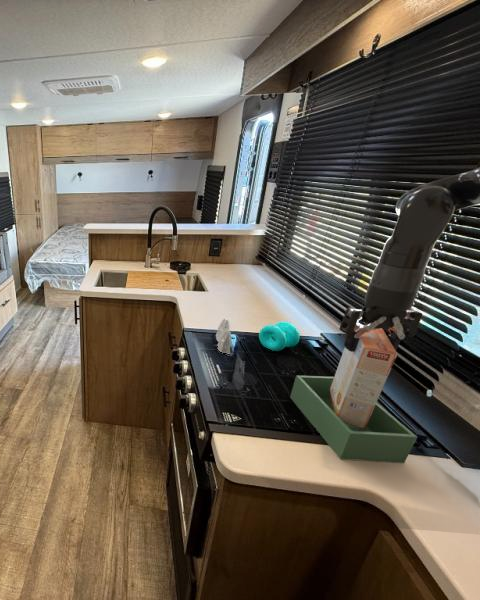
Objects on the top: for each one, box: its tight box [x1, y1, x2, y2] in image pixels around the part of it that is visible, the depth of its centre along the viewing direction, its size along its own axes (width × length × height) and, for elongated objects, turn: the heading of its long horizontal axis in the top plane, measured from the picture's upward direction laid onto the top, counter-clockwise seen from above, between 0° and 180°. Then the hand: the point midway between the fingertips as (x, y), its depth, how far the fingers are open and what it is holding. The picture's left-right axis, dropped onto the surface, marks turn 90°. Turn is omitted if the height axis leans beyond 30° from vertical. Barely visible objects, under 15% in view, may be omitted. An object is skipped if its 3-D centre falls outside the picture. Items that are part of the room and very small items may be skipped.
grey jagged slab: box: [215, 317, 232, 355], centre depth 116 cm, size 12×4×11 cm, turn 163°
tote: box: [289, 375, 418, 464], centre depth 79 cm, size 14×22×8 cm, turn 174°
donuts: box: [258, 320, 301, 352], centre depth 115 cm, size 10×10×10 cm
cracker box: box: [330, 324, 398, 429], centre depth 74 cm, size 14×6×21 cm, turn 147°
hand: (368, 350), depth 72 cm, fingers closed on cracker box, 8 cm apart
